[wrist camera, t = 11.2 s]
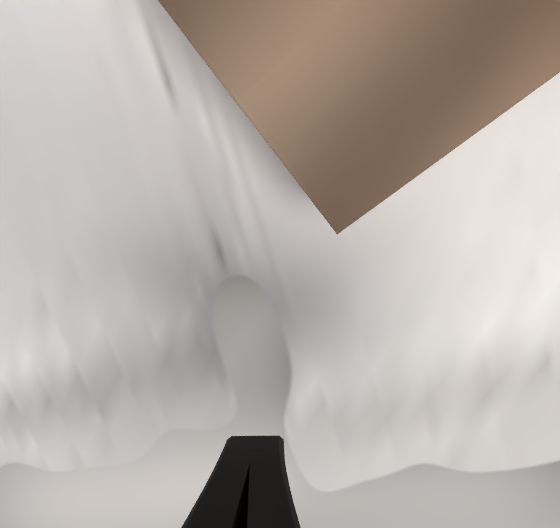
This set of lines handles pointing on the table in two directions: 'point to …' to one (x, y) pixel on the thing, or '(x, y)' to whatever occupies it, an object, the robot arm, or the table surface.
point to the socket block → (371, 81)
